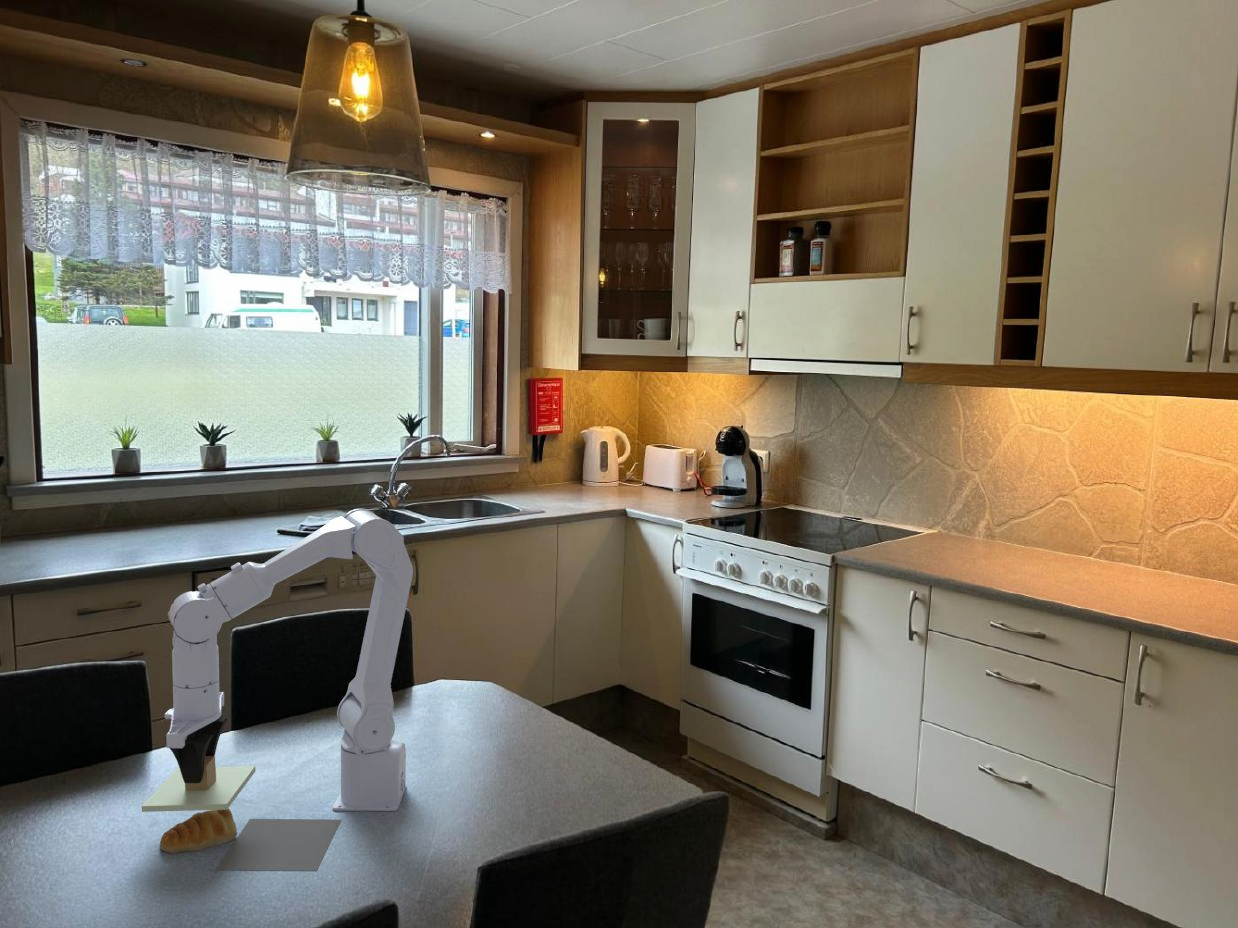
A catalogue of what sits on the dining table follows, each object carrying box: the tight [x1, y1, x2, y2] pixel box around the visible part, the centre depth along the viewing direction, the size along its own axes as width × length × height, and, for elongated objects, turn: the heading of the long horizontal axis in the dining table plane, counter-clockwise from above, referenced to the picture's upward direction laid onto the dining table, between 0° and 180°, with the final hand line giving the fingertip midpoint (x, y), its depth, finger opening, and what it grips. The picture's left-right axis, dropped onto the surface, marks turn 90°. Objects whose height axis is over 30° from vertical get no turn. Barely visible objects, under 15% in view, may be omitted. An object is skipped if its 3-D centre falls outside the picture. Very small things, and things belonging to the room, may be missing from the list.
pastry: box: [159, 807, 238, 854], centre depth 126 cm, size 9×7×4 cm
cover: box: [141, 755, 256, 813], centre depth 126 cm, size 11×11×4 cm
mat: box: [214, 818, 342, 872], centre depth 126 cm, size 13×13×1 cm
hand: (198, 775), depth 126 cm, fingers closed on cover, 3 cm apart
